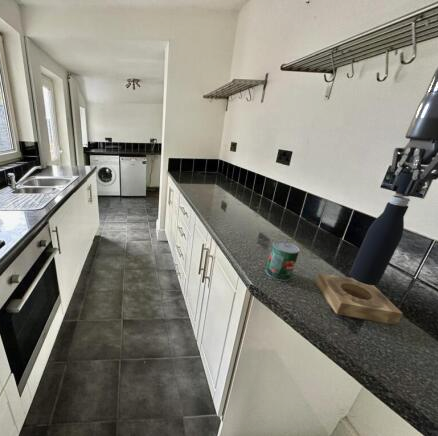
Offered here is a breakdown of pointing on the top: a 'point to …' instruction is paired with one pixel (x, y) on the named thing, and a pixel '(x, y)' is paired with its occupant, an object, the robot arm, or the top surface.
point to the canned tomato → (282, 260)
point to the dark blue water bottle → (382, 237)
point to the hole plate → (357, 299)
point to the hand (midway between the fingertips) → (403, 192)
